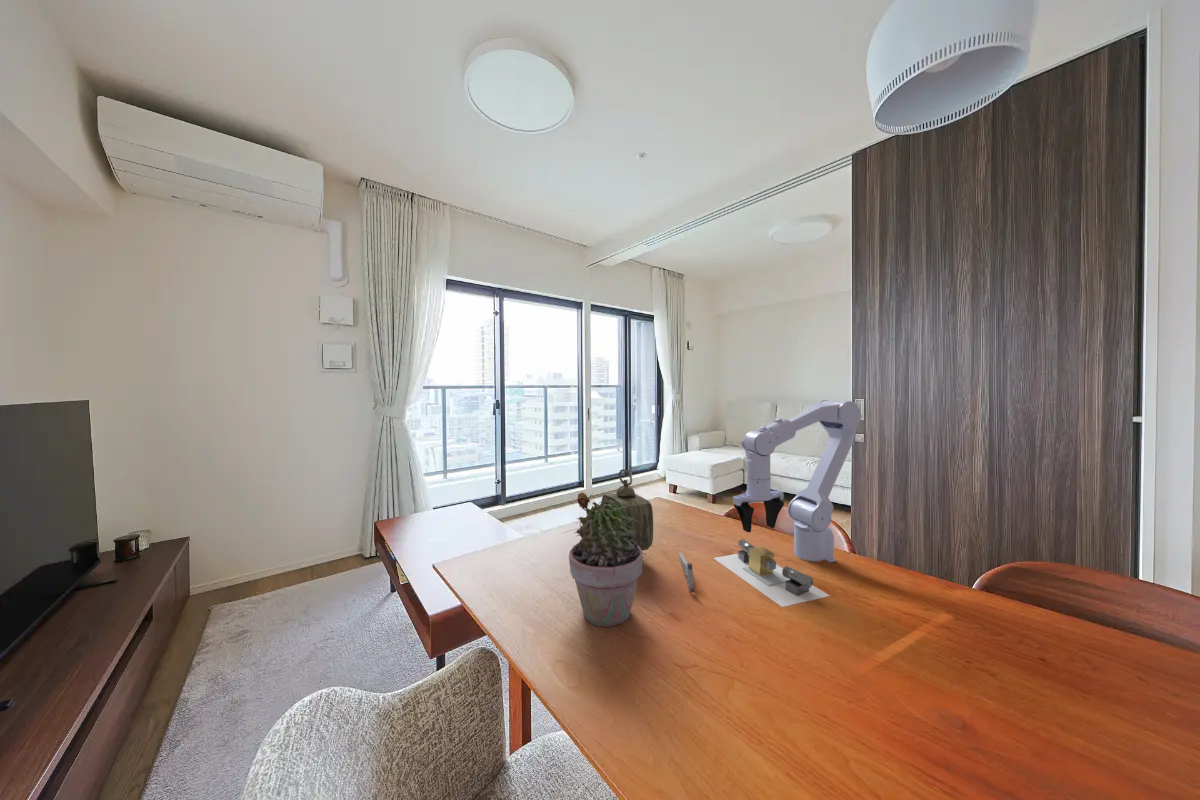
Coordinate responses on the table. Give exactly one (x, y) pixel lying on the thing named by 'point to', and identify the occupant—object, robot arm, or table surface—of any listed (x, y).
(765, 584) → the bench
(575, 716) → the table surface
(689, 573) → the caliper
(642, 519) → the tabletop clock
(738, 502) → the robot arm
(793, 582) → the shaft
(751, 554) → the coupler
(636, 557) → the potted plant
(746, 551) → the shaft
